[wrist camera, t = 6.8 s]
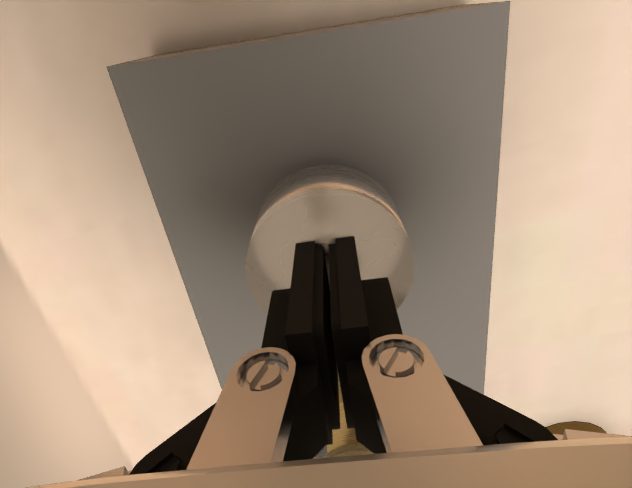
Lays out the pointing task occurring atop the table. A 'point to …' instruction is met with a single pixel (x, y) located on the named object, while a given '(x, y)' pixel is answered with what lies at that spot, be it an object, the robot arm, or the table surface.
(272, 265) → the knob
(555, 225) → the table surface
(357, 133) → the mount
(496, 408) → the robot arm
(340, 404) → the brass shaft
